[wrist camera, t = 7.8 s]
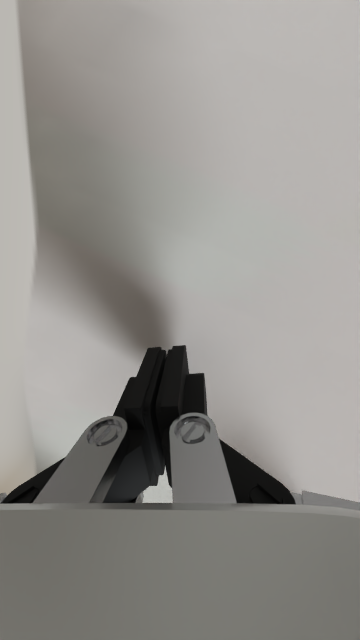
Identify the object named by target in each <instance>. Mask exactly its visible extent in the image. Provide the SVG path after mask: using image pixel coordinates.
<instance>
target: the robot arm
mask: <svg viewBox="0 0 360 640" xmlns="http://www.w3.org/2000/svg"><path fill="white" fill-rule="evenodd" d="M165 466H166V471H167V476H168V482H169V485H170V486H171V488H172V495H173V503H142V502H143V497H144V495H143V491H144V490H145V489H146V488H148V487H149V486H157V484H158V477H159V475H163V474H164V470H165ZM0 640H360V503H359V502H355V501H350V500H345V499H340V498H336V497H331V496H326V495H321V494H317V493H312V492H307V491H302V495H300V494H296V493H291V492H290V491H289V490H288V489H287V488H286V487H285V486H284V485H283V484H281V483H280V482H279V481H277V480H276V479H275V478H273V477H272V476H270V475H269V474H268V473H266V472H265V471H263V470H262V469H261V468H259V467H258V466H256V465H255V464H254V463H252V462H251V461H250V460H248V459H247V458H245V457H244V456H243V455H241V454H240V453H238V452H237V451H236V450H234V449H233V448H231V447H230V446H229V445H227V444H226V443H224V442H223V441H222V440H220V439H219V437H218V434H217V430H216V427H215V424H214V422H213V420H212V419H210V418H209V417H208V416H207V401H206V388H205V378H204V373H197V374H189V369H188V361H187V352H186V346H185V345H183V346H173V348H172V349H171V350H168V354H167V355H166V350H162V349H161V347H155V348H148V349H147V352H146V354H145V357H144V359H143V362H142V364H141V367H140V369H139V372H138V374H137V377H131V378H130V379H129V381H128V383H127V385H126V387H125V390H124V392H123V394H122V396H121V399H120V401H119V403H118V405H117V408H116V410H115V412H114V414H113V416H108V417H104V418H101V419H99V420H97V421H95V422H94V423H92V424H91V425H90V426H89V427H88V428H87V429H86V430H85V431H84V433H83V434H82V435H81V437H80V438H79V440H78V441H77V442H76V444H75V445H74V446H73V448H72V449H71V451H70V452H69V453H68V455H67V456H66V457H65V458H63V459H62V460H60V461H58V462H57V463H55V464H54V465H52V466H50V467H49V468H47V469H46V470H44V471H42V472H41V473H39V474H37V475H36V476H34V477H33V478H31V479H30V480H28V481H26V482H25V483H23V484H21V485H20V486H18V487H17V488H16V489H14V490H13V491H12V492H11V493H10V494H9V495H8V496H7V495H6V493H1V494H0Z"/></svg>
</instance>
